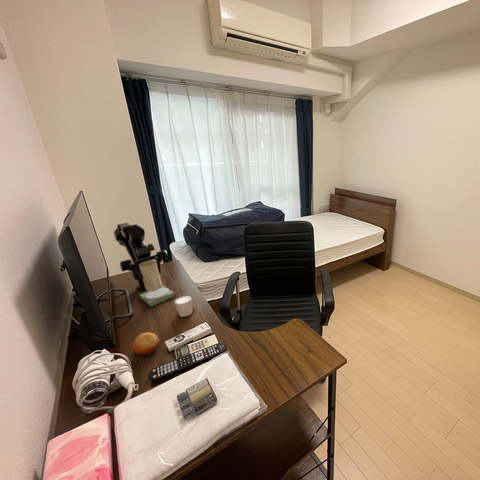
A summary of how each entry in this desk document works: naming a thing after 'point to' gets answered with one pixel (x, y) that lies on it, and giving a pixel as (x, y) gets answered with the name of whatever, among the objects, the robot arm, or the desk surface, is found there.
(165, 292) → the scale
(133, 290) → the desk surface
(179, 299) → the white cylinder
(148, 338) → the fruit
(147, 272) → the cup
